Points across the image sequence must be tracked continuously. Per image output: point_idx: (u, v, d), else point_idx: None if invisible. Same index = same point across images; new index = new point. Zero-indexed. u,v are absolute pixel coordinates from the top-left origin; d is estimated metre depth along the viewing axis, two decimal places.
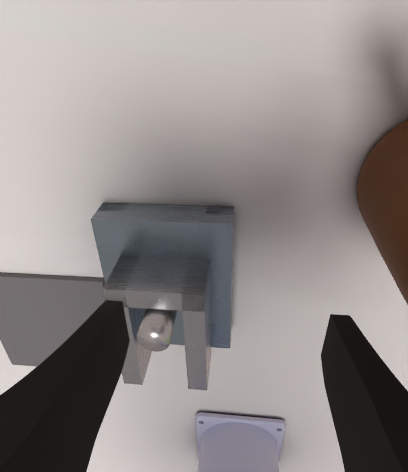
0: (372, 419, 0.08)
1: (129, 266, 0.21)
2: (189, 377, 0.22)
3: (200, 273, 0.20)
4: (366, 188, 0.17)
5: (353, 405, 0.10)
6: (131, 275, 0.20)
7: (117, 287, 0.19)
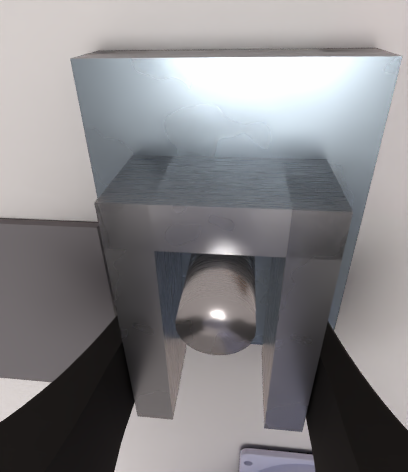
0: (335, 416, 0.08)
1: (154, 168, 0.09)
2: (270, 407, 0.11)
3: (319, 177, 0.09)
4: None
5: (321, 402, 0.10)
6: (161, 180, 0.09)
7: (129, 198, 0.08)
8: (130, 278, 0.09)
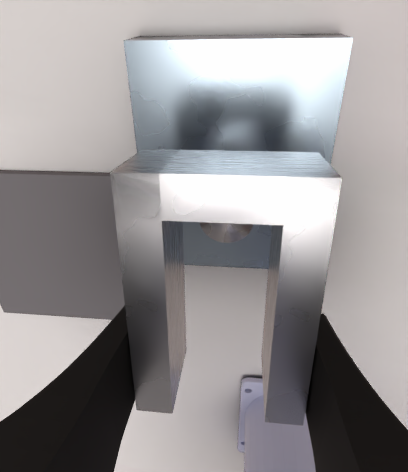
0: (336, 416, 0.08)
1: (163, 155, 0.10)
2: (271, 396, 0.11)
3: (311, 161, 0.10)
4: None
5: (321, 402, 0.10)
6: (169, 161, 0.10)
7: (141, 170, 0.09)
8: (138, 250, 0.09)
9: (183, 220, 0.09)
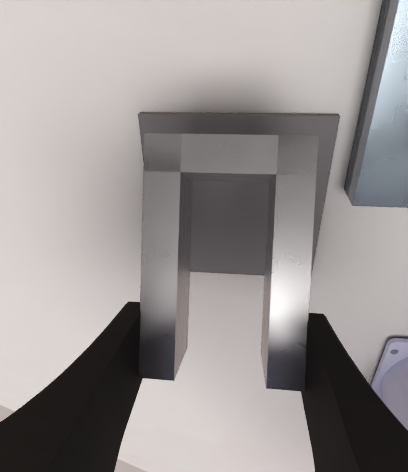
0: (335, 416, 0.08)
1: None
2: (271, 354, 0.11)
3: None
4: None
5: (321, 402, 0.10)
6: None
7: (167, 135, 0.12)
8: (159, 198, 0.12)
9: (197, 171, 0.11)
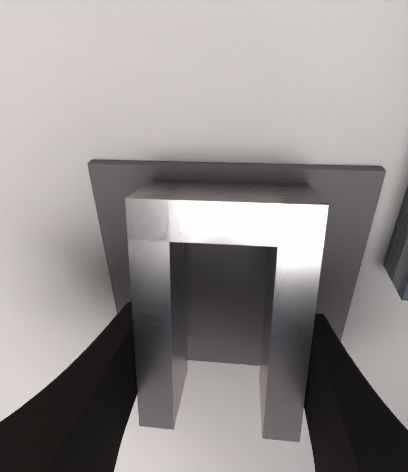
0: (335, 416, 0.08)
1: (171, 185, 0.12)
2: (268, 411, 0.12)
3: (302, 191, 0.11)
4: None
5: (321, 402, 0.10)
6: (176, 190, 0.11)
7: (152, 197, 0.10)
8: (147, 268, 0.10)
9: (188, 241, 0.10)
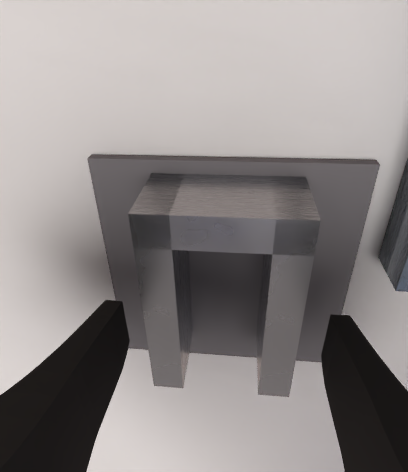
0: (372, 419, 0.08)
1: (170, 184, 0.12)
2: (263, 376, 0.14)
3: (298, 192, 0.11)
4: None
5: (353, 405, 0.10)
6: (176, 195, 0.11)
7: (153, 210, 0.10)
8: (153, 271, 0.11)
9: (190, 250, 0.11)
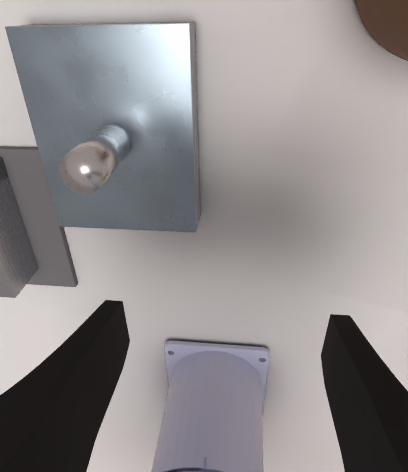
0: (372, 419, 0.08)
1: None
2: None
3: None
4: None
5: (353, 405, 0.10)
6: None
7: None
8: None
9: None
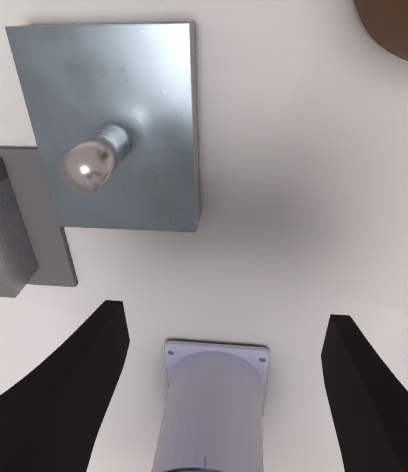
0: (372, 419, 0.08)
1: None
2: None
3: None
4: None
5: (353, 405, 0.10)
6: None
7: None
8: None
9: None
